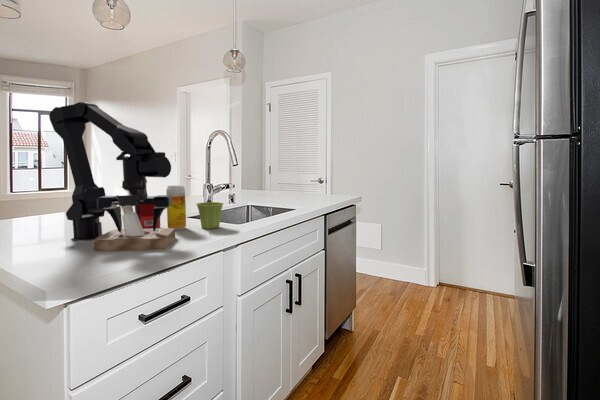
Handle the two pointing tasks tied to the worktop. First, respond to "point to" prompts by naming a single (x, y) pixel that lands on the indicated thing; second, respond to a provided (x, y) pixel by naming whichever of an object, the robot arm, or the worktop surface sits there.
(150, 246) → the board
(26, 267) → the worktop surface
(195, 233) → the worktop surface
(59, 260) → the worktop surface
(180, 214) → the yellow canister
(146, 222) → the canned food
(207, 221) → the plant pot
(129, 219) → the salt shaker
